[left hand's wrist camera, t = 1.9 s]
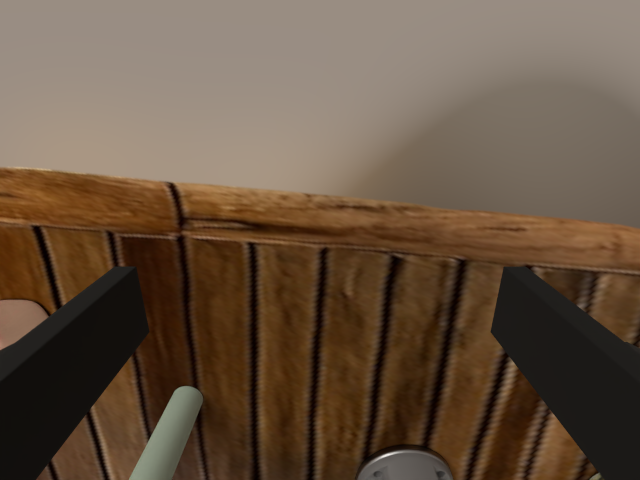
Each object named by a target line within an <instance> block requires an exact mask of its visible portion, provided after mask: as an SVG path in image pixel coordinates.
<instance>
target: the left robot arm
mask: <svg viewBox="0 0 640 480" xmlns="http://www.w3.org/2000/svg"><path fill="white" fill-rule="evenodd" d="M148 333H149V328H148V323H147V318H146V313H145V308H144V303H143V298H142V293H141V288H140V284H139V279H138V274H137V269H136V267H114V268H112V269H111V270H110V271H108V272H107V273H106V274H104V275H103V276H102V277H100V278H99V279H98V280H97V281H95V282H94V283H93V284H91V285H90V286H89V287H87V288H86V289H85V290H83V291H82V292H81V293H79V294H78V295H77V296H76V297H74V298H73V299H72V300H70V301H69V302H68V303H66V304H65V305H64V306H62V307H61V308H60V309H58V310H57V311H56V312H55V313H53V314H52V315H51V316H49V317H48V318H47V319H45V320H44V321H43V322H41V323H40V324H39V325H37V326H36V327H35V328H34V329H32V330H31V331H30V332H28V333H27V334H26V335H24V336H23V337H22V338H20V339H19V340H18V341H16V342H15V343H13V344H11V345H9V346H7V347H5V348H3V349H1V350H0V480H36V479H37V477H38V476H39V475H40V473H41V472H42V471H43V469H44V468H45V467H46V466H47V464H48V463H49V462H50V460H51V459H52V458H53V456H54V455H55V454H56V453H57V451H58V450H59V449H60V447H61V446H62V445H63V443H64V442H65V441H66V440H67V438H68V437H69V436H70V434H71V433H72V432H73V431H74V429H75V428H76V427H77V425H78V424H79V423H80V421H81V420H82V419H83V418H84V416H85V415H86V414H87V412H88V411H89V410H90V408H91V407H92V406H93V405H94V403H95V402H96V401H97V399H98V398H99V397H100V395H101V394H102V393H103V392H104V390H105V389H106V388H107V386H108V385H109V384H110V382H111V381H112V380H113V379H114V377H115V376H116V375H117V373H118V372H119V371H120V369H121V368H122V367H123V366H124V364H125V363H126V362H127V360H128V359H129V358H130V356H131V355H132V354H133V353H134V351H135V350H136V349H137V347H138V346H139V345H140V343H141V342H142V341H143V340H144V338H145V337H146V336H147V334H148ZM491 333H492V334H493V336H494V337H495V338H496V340H497V341H498V342H499V343H500V345H501V346H502V347H503V349H504V350H505V351H506V353H507V354H508V355H509V356H510V358H511V359H512V360H513V362H514V363H515V364H516V366H517V367H518V368H519V369H520V371H521V372H522V373H523V375H524V376H525V377H526V379H527V380H528V381H529V382H530V384H531V385H532V386H533V388H534V389H535V390H536V392H537V393H538V394H539V395H540V397H541V398H542V399H543V401H544V402H545V403H546V405H547V406H548V407H549V408H550V410H551V411H552V412H553V414H554V415H555V416H556V418H557V419H558V420H559V421H560V423H561V424H562V425H563V427H564V428H565V429H566V431H567V432H568V433H569V434H570V436H571V437H572V438H573V440H574V441H575V442H576V443H577V445H578V446H579V447H580V449H581V450H582V451H583V453H584V454H585V455H586V456H587V458H588V459H589V460H590V462H591V463H592V464H593V466H594V467H595V468H596V469H597V471H598V472H599V473H600V475H601V476H602V477H603V479H604V480H640V348H638V347H636V346H634V345H632V344H630V343H628V342H624V341H622V340H621V339H620V338H618V337H617V336H616V335H614V334H613V333H612V332H610V331H609V330H608V329H606V328H605V327H604V326H603V325H601V324H600V323H599V322H597V321H596V320H595V319H593V318H592V317H591V316H589V315H588V314H587V313H585V312H584V311H583V310H582V309H580V308H579V307H578V306H576V305H575V304H574V303H572V302H571V301H570V300H568V299H567V298H566V297H564V296H563V295H562V294H561V293H559V292H558V291H557V290H555V289H554V288H553V287H551V286H550V285H549V284H547V283H546V282H545V281H543V280H542V279H541V278H540V277H538V276H537V275H536V274H534V273H533V272H532V271H530V270H529V269H528V268H526V267H504V269H503V274H502V279H501V284H500V288H499V293H498V298H497V303H496V308H495V313H494V318H493V323H492V328H491ZM355 480H453V477H452V474H451V471H450V468H449V466H448V464H447V462H446V461H445V460H444V458H443V457H441V456H440V455H439V454H438V453H436V452H434V451H432V450H430V449H428V448H425V447H421V446H414V445H399V446H393V447H389V448H386V449H383V450H380V451H378V452H376V453H374V454H373V455H371V456H370V457H368V458H367V459H366V460H365V461H364V462H363V463H362V464H361V466H360V467H359V469H358V471H357V474H356V479H355Z"/></svg>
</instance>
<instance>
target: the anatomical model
mask: <svg viewBox="0 0 640 480" xmlns="http://www.w3.org/2000/svg"><path fill="white" fill-rule="evenodd" d="M48 317H49V316H48V315H47V313H46V312H45V311H44V309H43V308H42V307H41V306H40V305H38V304H37V303H35V302H32V301H28V300H1V301H0V350H1V349H3V348H5V347H7V346H9V345H11V344H13V343H15V342H16V341H18V340H19V339H20V338H22V337H23V336H24V335H26V334H27V333H28V332H30V331H31V330H32V329H34V328H35V327H36V326H37V325H39V324H40V323H41V322H43V321H44V320H45V319H47V318H48Z"/></svg>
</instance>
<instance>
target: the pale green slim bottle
mask: <svg viewBox="0 0 640 480" xmlns="http://www.w3.org/2000/svg"><path fill="white" fill-rule="evenodd" d="M202 402H203V396H202V394H201V393H200V391H198V390H197V389H195V388H193V387H190V386H183V387H180V388H178V389H176V390H175V392H174V393H173V395H172V397H171V399H170V401H169V403H168V405H167V407H166V409H165V411H164V413H163V415H162V417H161V419H160V420H159V422H158V424H157V426H156V428H155V430H154V432H153V434H152V436H151V438H150V440H149V442H148V444H147V446H146V448H145V449H144V451H143V453H142V455H141V457H140V459H139V461H138V463H137V465H136V467H135V469H134V471H133V473H132V475H131V476H130V478H129V480H171V479H172V477H173V474H174V472H175V470H176V467H177V465H178V462H179V460H180V457H181V455H182V452H183V450H184V447H185V445H186V442H187V440H188V437H189V435H190V432H191V430H192V427H193V425H194V422H195V420H196V417H197V415H198V412H199V410H200V407H201V405H202Z"/></svg>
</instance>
